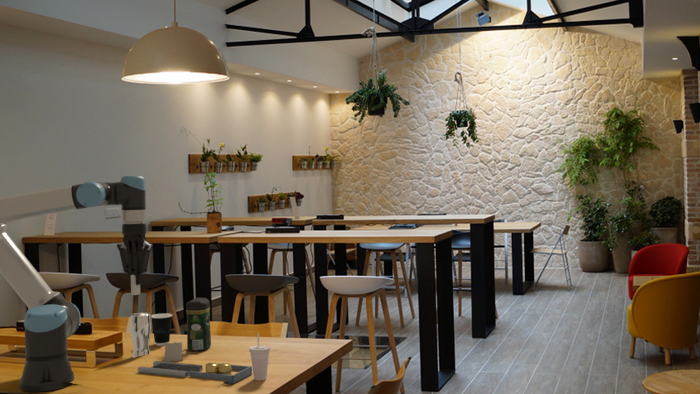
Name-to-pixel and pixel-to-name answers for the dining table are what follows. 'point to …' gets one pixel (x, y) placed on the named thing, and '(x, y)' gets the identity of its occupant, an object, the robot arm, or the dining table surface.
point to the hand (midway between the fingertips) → (135, 294)
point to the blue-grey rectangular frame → (231, 379)
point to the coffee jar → (198, 324)
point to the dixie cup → (161, 328)
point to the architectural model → (173, 351)
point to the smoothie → (259, 360)
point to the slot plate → (170, 369)
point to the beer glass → (140, 333)
